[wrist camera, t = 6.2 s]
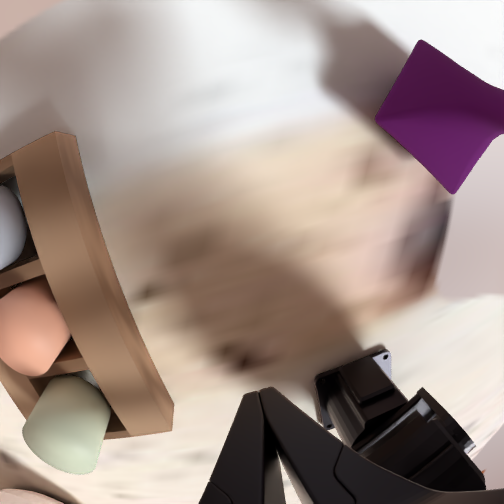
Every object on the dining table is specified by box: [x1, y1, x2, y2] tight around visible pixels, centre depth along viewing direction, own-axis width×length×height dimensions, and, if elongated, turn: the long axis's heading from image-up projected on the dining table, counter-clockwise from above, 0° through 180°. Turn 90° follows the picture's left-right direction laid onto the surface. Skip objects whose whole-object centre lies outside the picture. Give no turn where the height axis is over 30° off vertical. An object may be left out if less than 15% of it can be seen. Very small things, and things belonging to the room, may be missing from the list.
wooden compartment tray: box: [0, 131, 174, 440], centre depth 17 cm, size 20×12×3 cm, turn 14°
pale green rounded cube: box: [22, 375, 111, 475], centre depth 16 cm, size 5×5×5 cm
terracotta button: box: [0, 274, 72, 376], centre depth 16 cm, size 5×5×5 cm
